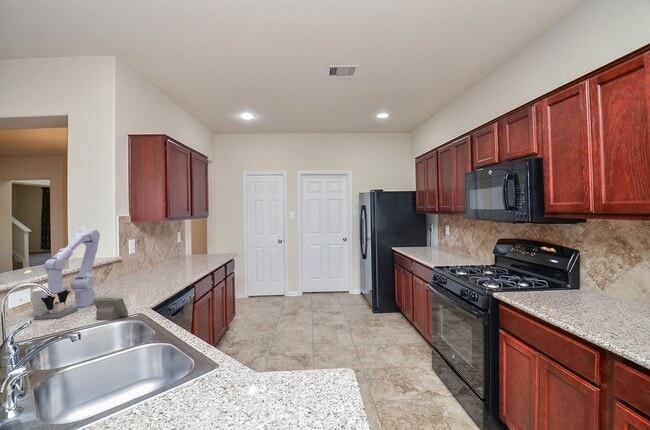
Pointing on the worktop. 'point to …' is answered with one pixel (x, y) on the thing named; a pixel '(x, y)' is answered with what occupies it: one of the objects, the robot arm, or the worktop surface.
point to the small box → (38, 302)
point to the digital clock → (110, 308)
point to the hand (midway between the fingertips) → (56, 307)
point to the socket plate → (55, 314)
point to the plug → (57, 307)
